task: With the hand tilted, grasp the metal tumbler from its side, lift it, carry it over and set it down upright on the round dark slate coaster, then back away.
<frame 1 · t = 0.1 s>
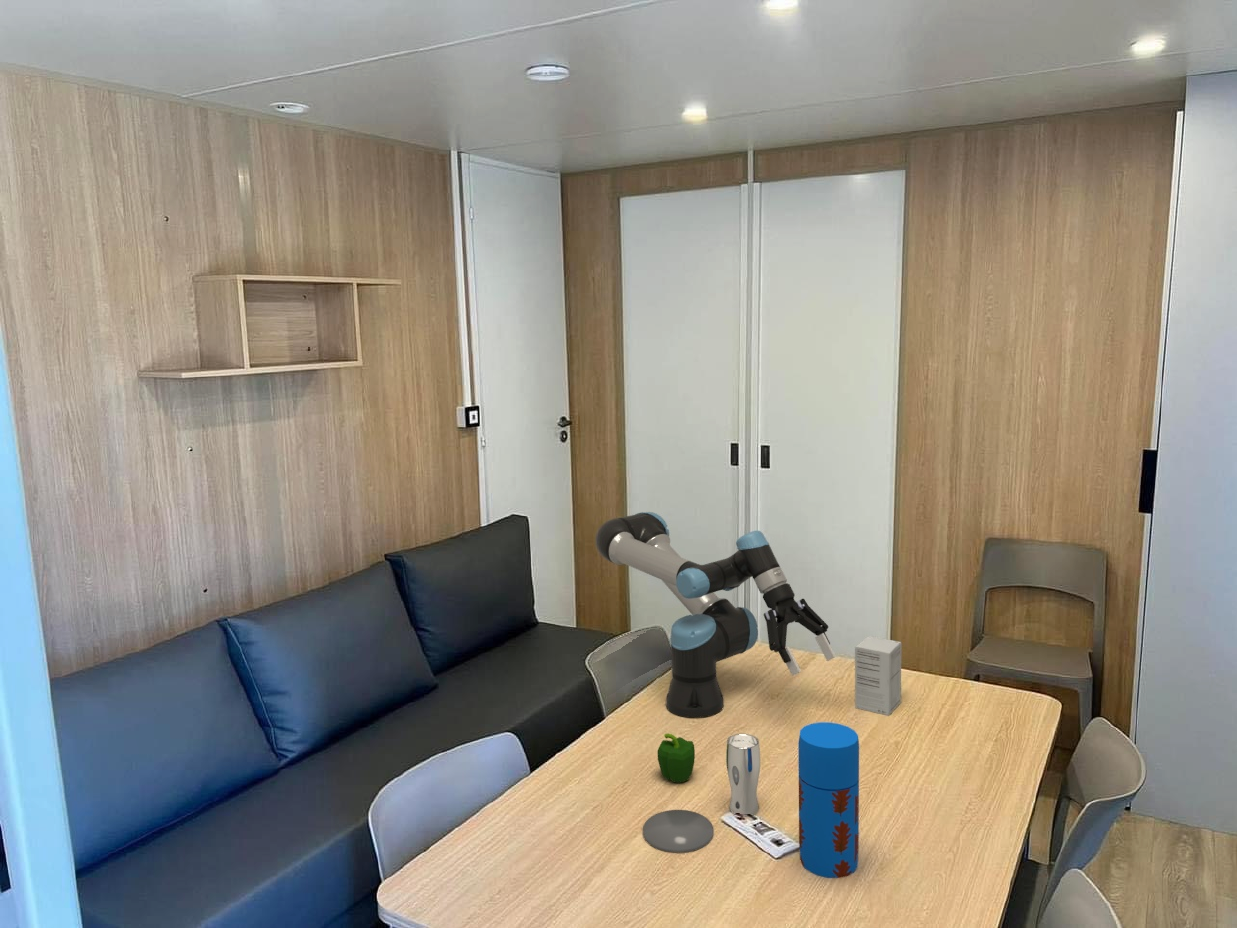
hand: (814, 666, 219), 15 cm above the table, tool tilted 35°, fingers open, 13 cm apart
metal tumbler: (744, 809, 185), on the table
supplement box: (877, 706, 232), on the table
thermos: (828, 861, 166), on the table
bell pepper: (677, 777, 199), on the table
coaster: (678, 832, 177), on the table
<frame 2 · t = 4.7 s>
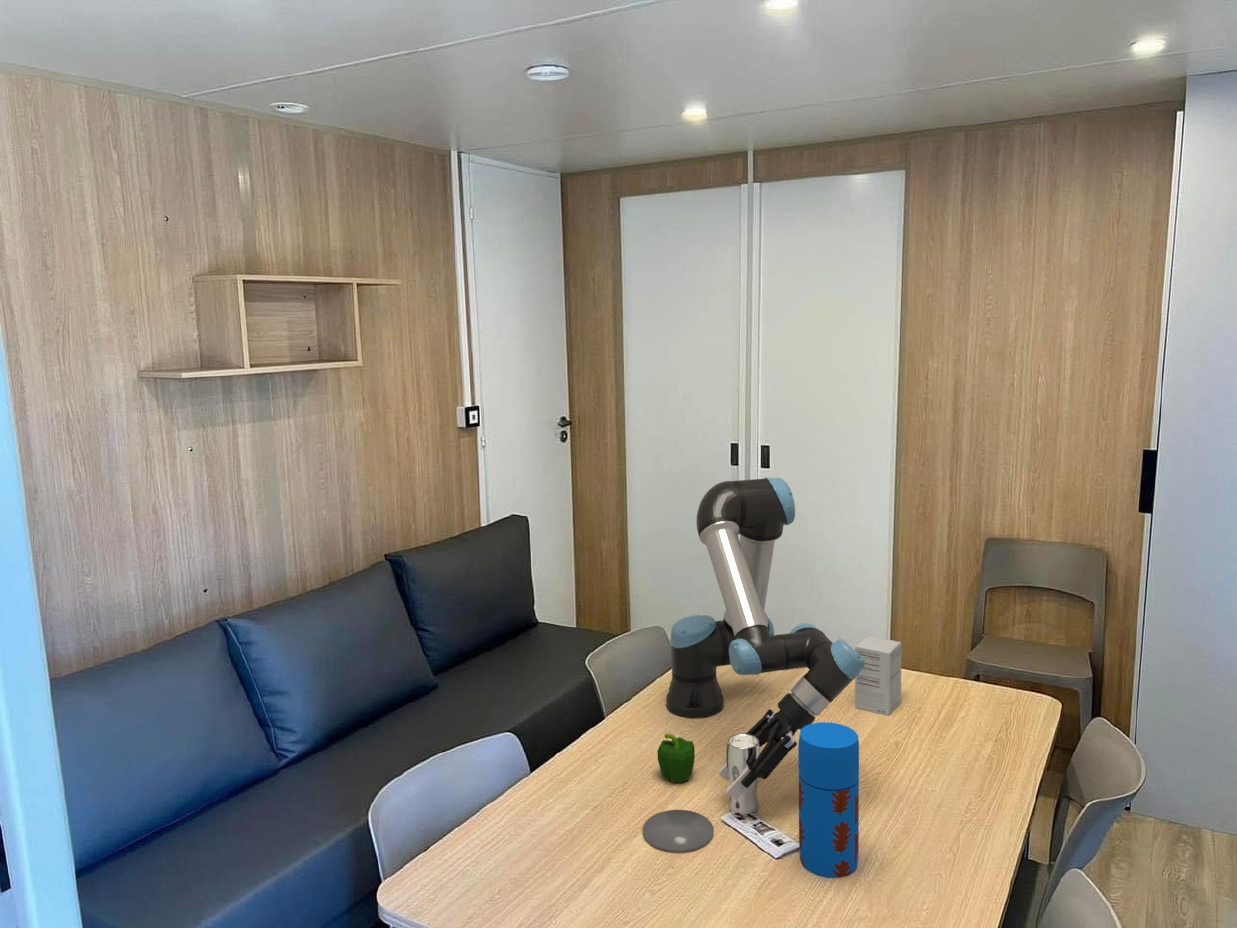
hand: (727, 785, 184), 5 cm above the table, tool tilted 45°, fingers closed on metal tumbler, 7 cm apart
metal tumbler: (744, 809, 185), on the table, touching gripper
everything else where it was.
when the fingers open (8 cm above the table, at t = 9.6 s): metal tumbler drops 1 cm, resting on coaster.
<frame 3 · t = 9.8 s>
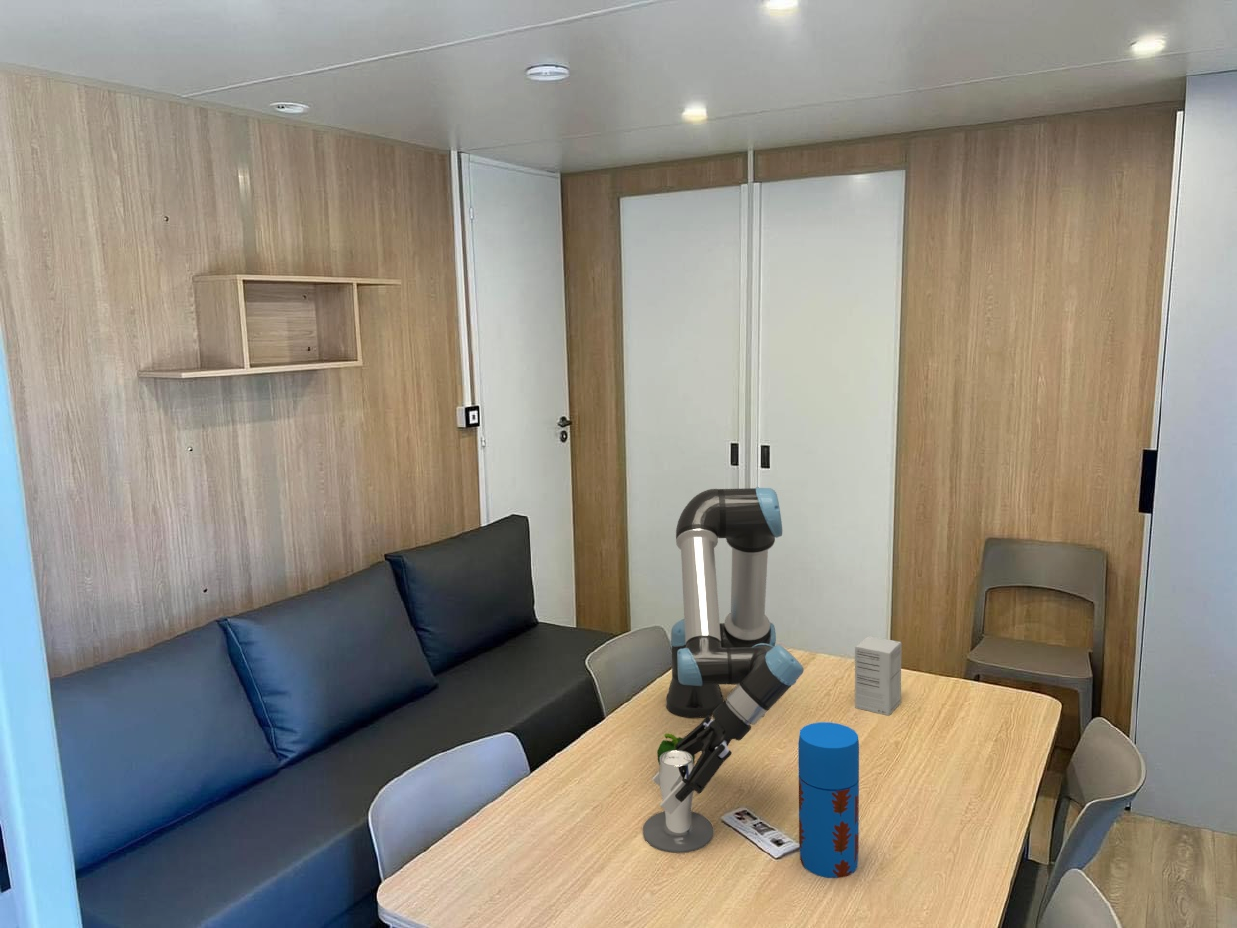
hand: (661, 795, 176), 8 cm above the table, tool tilted 45°, fingers open, 9 cm apart
metal tumbler: (678, 829, 177), point 1 cm above the table, touching coaster
everything else where it was.
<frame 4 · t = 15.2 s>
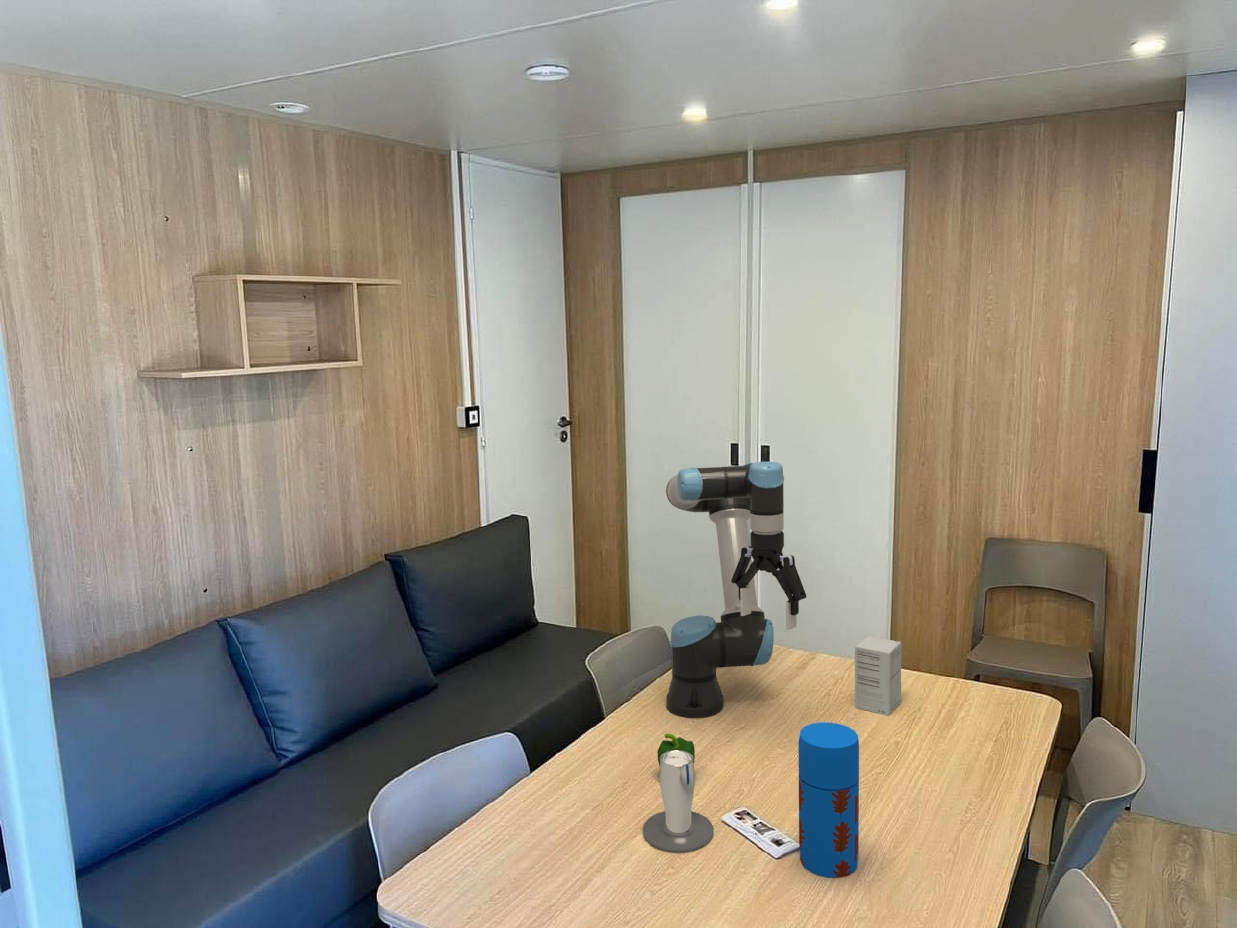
hand: (768, 621, 205), 32 cm above the table, tool pointing down, fingers open, 13 cm apart
nothing on the table moved.
at the end: metal tumbler 0.1 cm from the coaster (horizontally); metal tumbler tilted 0°; the gripper is holding nothing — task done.
